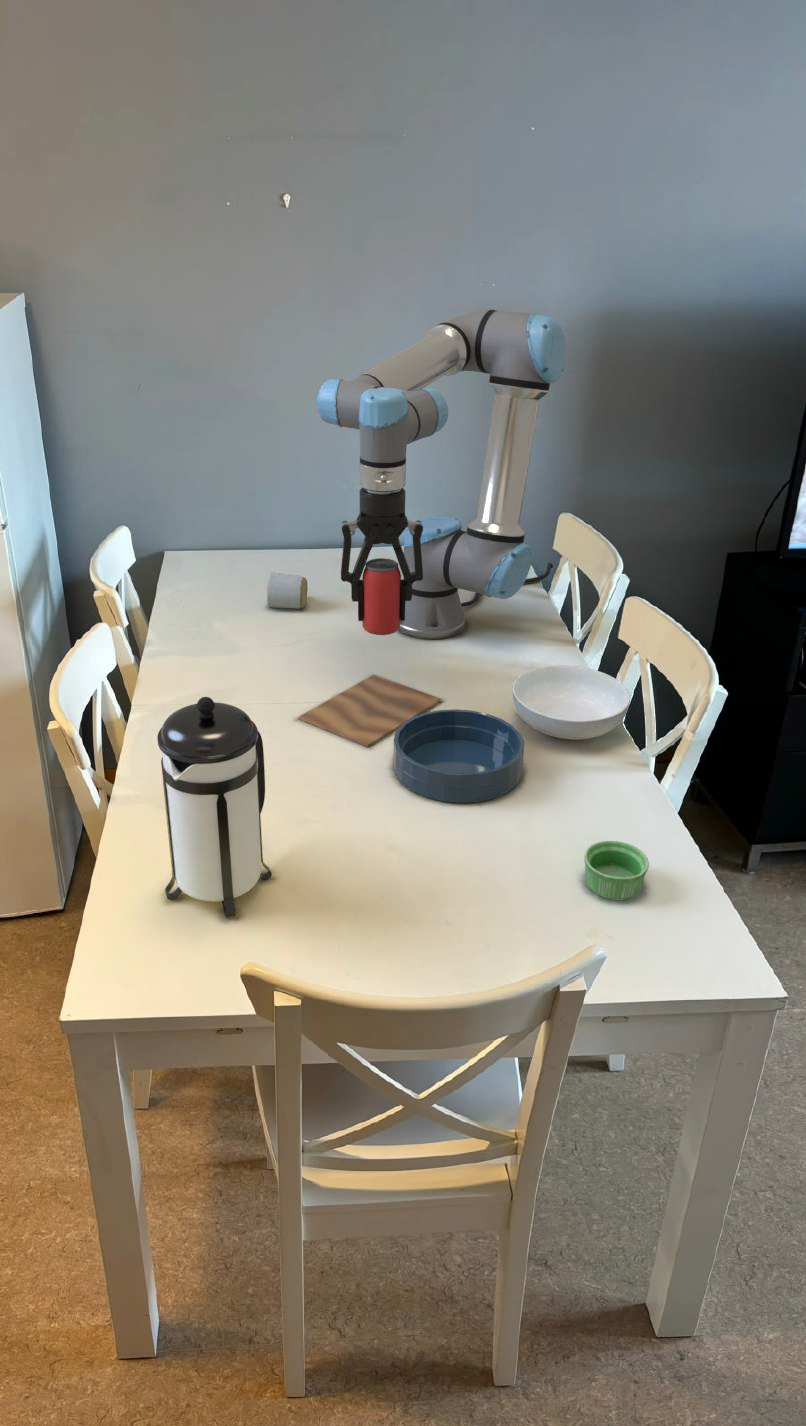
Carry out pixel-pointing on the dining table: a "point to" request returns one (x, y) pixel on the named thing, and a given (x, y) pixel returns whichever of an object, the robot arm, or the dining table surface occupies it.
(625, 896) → the ramekin
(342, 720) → the wooden cutting board
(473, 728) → the blue bowl
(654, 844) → the dining table surface
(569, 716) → the serving bowl
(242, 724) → the coffee press
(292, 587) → the grey cylinder
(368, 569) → the beer can
